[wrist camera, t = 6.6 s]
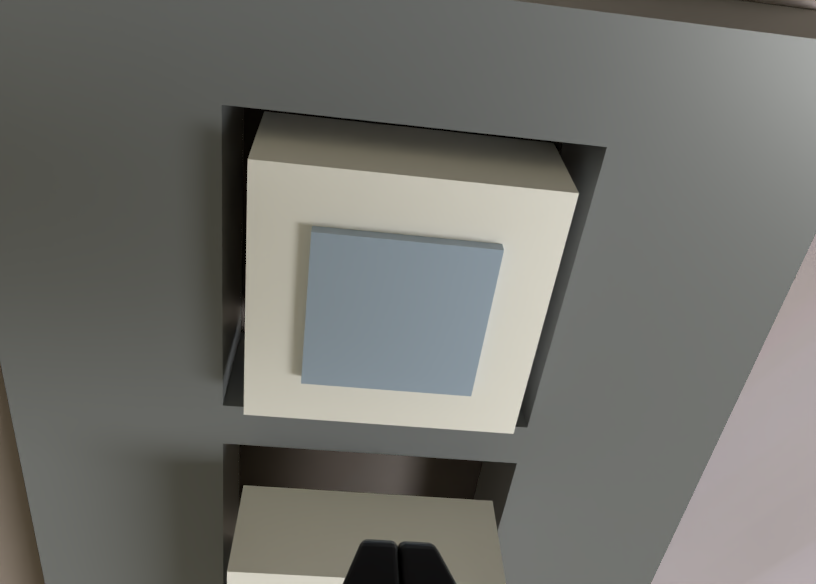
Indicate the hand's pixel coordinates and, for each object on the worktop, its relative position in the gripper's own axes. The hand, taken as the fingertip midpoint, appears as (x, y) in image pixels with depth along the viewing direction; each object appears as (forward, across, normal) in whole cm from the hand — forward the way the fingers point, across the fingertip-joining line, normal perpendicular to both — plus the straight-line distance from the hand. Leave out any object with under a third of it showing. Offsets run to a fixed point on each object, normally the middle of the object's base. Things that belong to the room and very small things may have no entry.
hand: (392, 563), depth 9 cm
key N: (+7, 0, 0) cm, 7 cm away
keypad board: (+8, 0, +7) cm, 11 cm away
